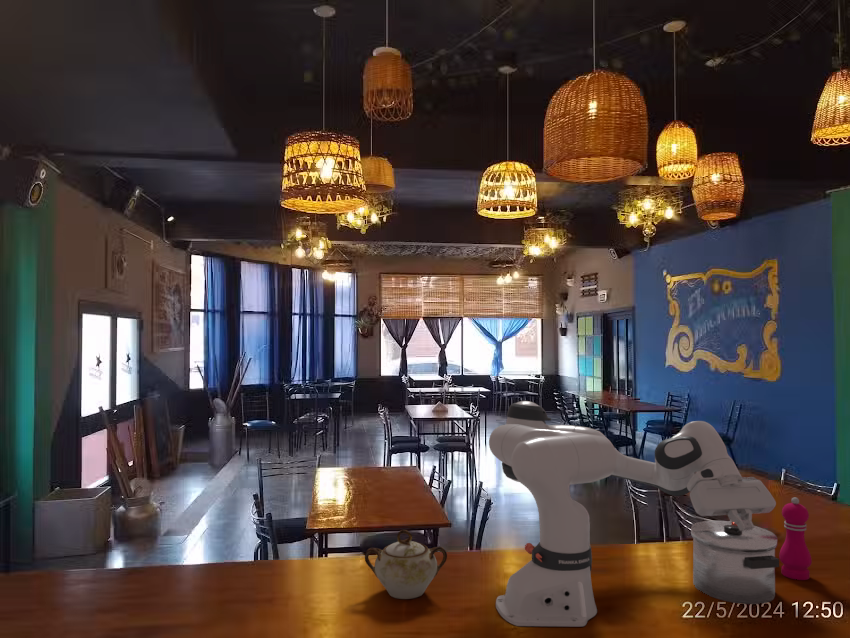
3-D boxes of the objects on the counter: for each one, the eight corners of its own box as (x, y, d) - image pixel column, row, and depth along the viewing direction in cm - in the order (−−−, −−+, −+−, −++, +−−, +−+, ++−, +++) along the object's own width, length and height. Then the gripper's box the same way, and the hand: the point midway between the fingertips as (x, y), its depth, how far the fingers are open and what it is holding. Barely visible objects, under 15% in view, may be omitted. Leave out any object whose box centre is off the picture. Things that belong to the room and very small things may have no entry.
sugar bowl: (361, 605, 149) (361, 539, 149) (367, 579, 164) (367, 519, 164) (447, 606, 149) (447, 540, 149) (446, 580, 164) (446, 520, 164)
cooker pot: (729, 611, 146) (729, 557, 147) (676, 574, 168) (676, 528, 168) (800, 605, 150) (800, 552, 150) (739, 570, 171) (739, 524, 171)
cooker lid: (722, 554, 148) (722, 542, 148) (675, 528, 167) (675, 517, 167) (796, 549, 152) (796, 537, 152) (742, 524, 170) (742, 514, 170)
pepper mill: (816, 582, 163) (816, 502, 163) (784, 579, 165) (784, 500, 165) (805, 571, 170) (805, 494, 170) (775, 569, 172) (775, 493, 172)
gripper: (752, 483, 168) (779, 533, 159) (680, 486, 165) (703, 537, 155) (764, 470, 164) (793, 520, 154) (690, 472, 160) (714, 524, 151)
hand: (747, 529), depth 155 cm, fingers closed
